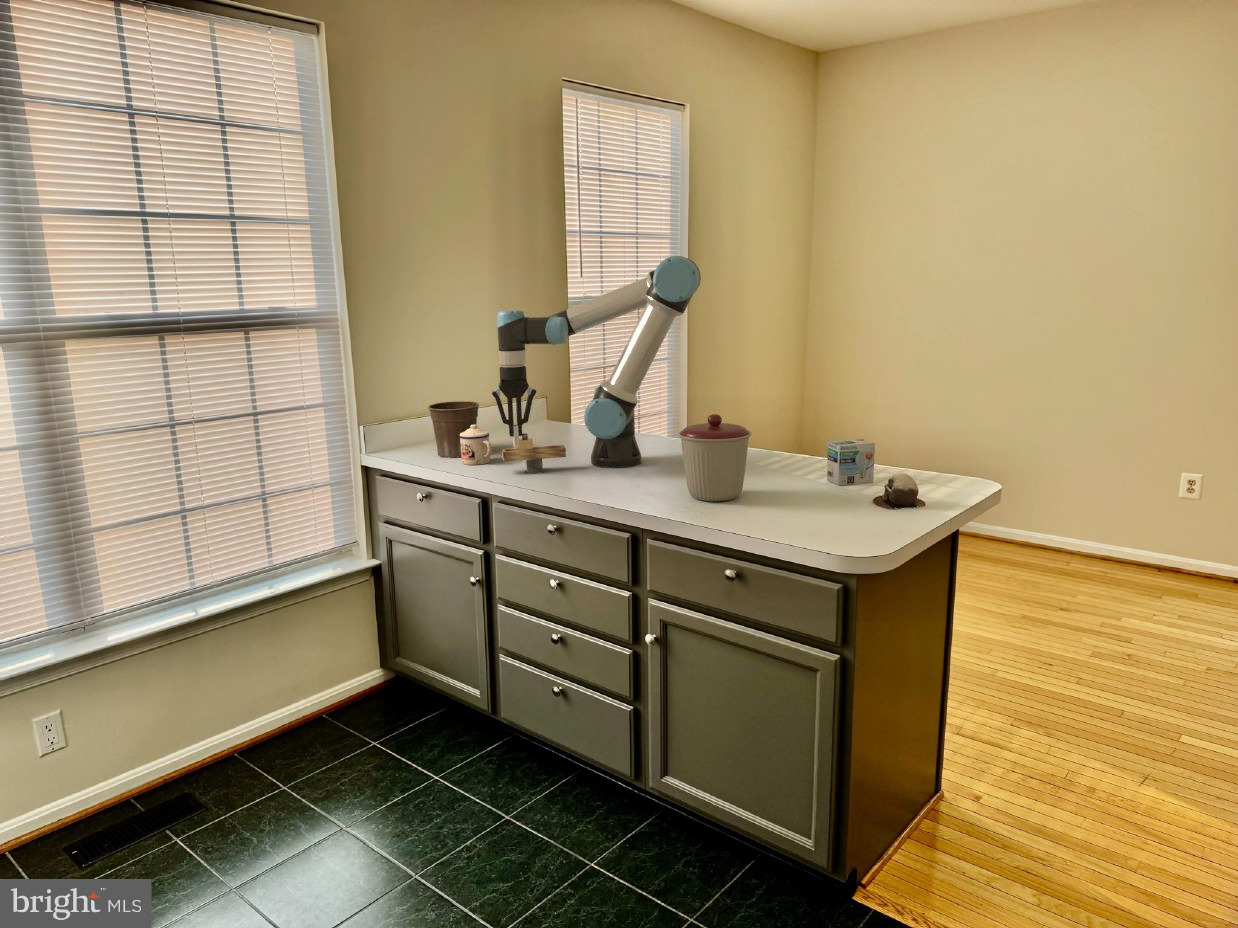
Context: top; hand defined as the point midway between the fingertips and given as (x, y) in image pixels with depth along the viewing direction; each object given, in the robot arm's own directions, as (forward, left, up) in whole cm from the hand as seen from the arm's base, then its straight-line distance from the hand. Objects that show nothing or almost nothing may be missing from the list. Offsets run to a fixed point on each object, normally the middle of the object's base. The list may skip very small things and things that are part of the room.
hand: (516, 447), depth 254 cm
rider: (-3, 0, -2) cm, 3 cm away
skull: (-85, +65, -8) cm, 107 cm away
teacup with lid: (+10, -17, -8) cm, 21 cm away
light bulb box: (-84, +41, -8) cm, 94 cm away
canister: (-45, +45, -8) cm, 64 cm away
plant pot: (+16, -33, -8) cm, 38 cm away
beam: (-5, 0, -7) cm, 9 cm away
